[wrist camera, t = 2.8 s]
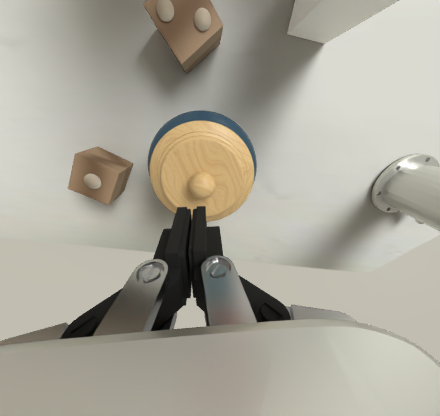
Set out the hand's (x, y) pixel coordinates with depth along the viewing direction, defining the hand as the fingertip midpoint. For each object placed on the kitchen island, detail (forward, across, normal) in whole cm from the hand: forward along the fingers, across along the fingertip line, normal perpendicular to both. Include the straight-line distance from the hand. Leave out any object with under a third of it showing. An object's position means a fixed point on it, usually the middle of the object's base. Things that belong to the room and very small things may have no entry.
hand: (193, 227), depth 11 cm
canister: (+24, -1, 0) cm, 24 cm away
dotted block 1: (+24, +16, +3) cm, 29 cm away
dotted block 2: (+24, +1, -15) cm, 28 cm away
